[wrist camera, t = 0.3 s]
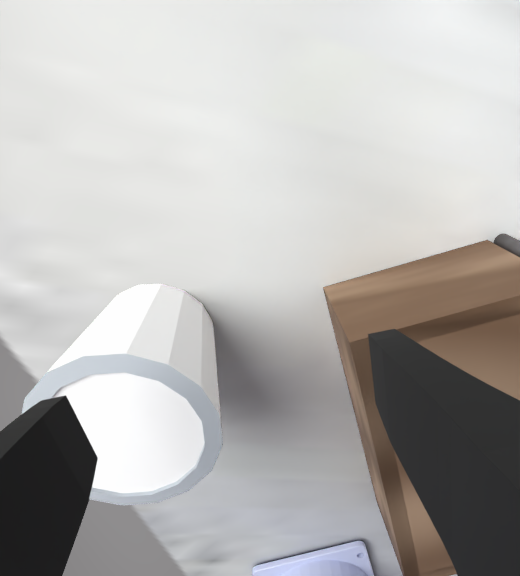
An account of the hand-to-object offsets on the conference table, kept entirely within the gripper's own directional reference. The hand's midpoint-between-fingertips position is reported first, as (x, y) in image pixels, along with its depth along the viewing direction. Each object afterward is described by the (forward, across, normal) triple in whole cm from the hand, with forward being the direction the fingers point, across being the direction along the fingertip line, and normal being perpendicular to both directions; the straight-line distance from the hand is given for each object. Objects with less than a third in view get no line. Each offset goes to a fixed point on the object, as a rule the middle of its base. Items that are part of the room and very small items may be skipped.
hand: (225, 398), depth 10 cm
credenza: (+10, -9, +10) cm, 17 cm away
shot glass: (+10, +4, +3) cm, 12 cm away
